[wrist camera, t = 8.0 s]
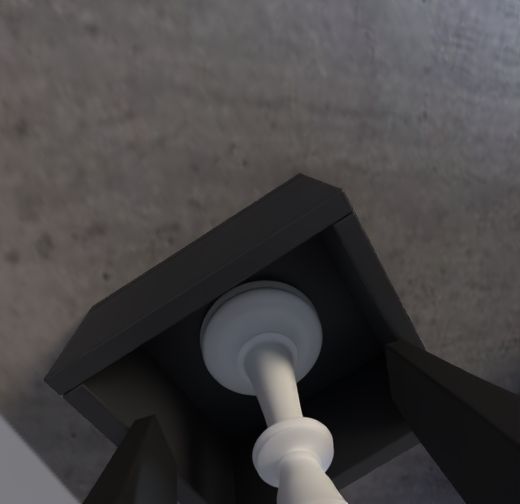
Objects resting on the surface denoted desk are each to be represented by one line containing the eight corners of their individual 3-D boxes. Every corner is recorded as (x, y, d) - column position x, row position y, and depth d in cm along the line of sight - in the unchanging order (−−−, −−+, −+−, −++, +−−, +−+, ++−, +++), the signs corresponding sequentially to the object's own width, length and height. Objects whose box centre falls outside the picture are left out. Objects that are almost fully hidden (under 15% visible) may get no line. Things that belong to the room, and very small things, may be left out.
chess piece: (223, 401, 15) (253, 849, 6) (181, 304, 13) (123, 712, 4) (330, 362, 15) (536, 731, 6) (303, 262, 13) (529, 552, 4)
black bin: (91, 306, 13) (42, 380, 9) (300, 172, 13) (343, 188, 9) (226, 451, 16) (233, 554, 12) (397, 348, 16) (461, 418, 12)
